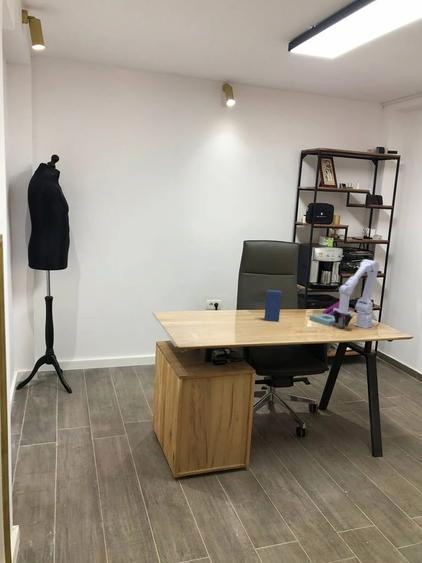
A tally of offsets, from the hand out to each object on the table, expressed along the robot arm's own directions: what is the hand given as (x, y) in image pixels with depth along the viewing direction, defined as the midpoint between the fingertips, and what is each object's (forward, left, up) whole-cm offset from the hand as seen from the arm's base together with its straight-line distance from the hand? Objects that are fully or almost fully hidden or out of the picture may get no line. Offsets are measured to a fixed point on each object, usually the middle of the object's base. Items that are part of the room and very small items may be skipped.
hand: (341, 324), depth 297 cm
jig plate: (+15, -4, -2) cm, 16 cm away
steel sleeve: (0, 0, -2) cm, 2 cm away
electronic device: (+33, +30, -3) cm, 45 cm away
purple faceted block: (+23, -22, -3) cm, 33 cm away
